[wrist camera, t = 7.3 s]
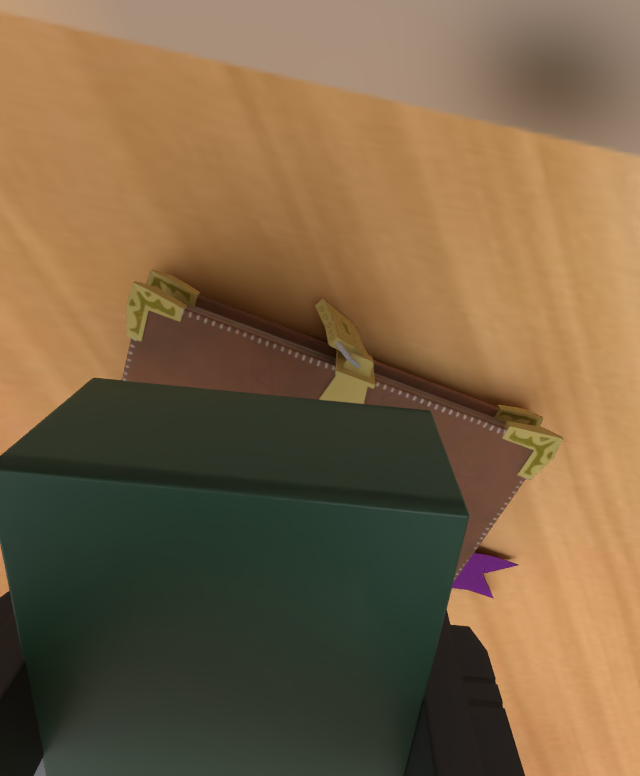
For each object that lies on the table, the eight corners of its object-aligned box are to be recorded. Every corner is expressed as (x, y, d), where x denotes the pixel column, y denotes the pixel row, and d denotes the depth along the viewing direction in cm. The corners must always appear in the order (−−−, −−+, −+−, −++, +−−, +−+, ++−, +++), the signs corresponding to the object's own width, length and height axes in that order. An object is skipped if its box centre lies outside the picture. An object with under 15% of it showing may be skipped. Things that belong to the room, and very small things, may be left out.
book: (472, 608, 34) (490, 680, 30) (107, 489, 31) (66, 548, 27) (621, 408, 27) (675, 462, 23) (168, 232, 24) (126, 254, 20)
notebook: (92, 376, 9) (-17, 468, 6) (431, 409, 9) (472, 515, 6) (124, 715, 13) (63, 868, 10) (367, 739, 13) (375, 898, 10)
